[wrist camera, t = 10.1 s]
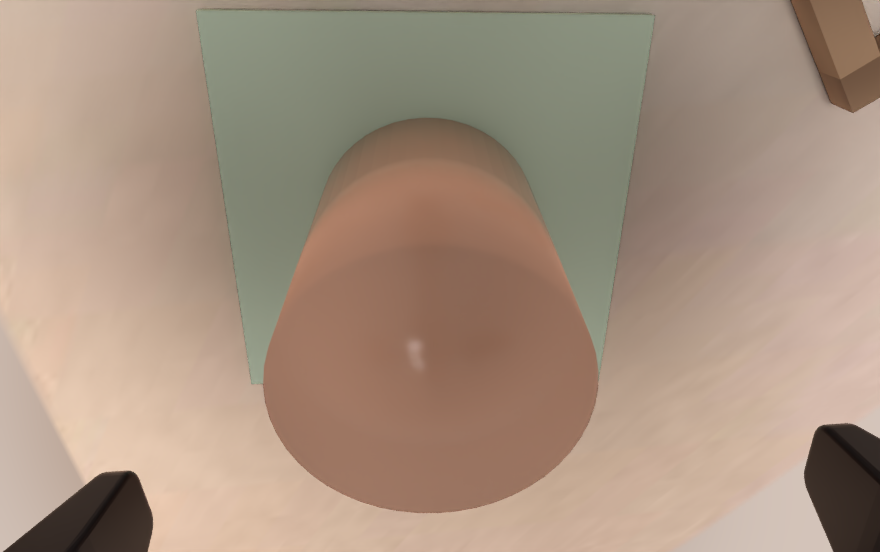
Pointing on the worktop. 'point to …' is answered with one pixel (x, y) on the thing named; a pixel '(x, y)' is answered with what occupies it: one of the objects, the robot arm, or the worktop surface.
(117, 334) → the worktop surface
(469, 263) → the peach round cylinder
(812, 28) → the walnut collar
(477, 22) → the sage mat
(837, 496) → the robot arm
